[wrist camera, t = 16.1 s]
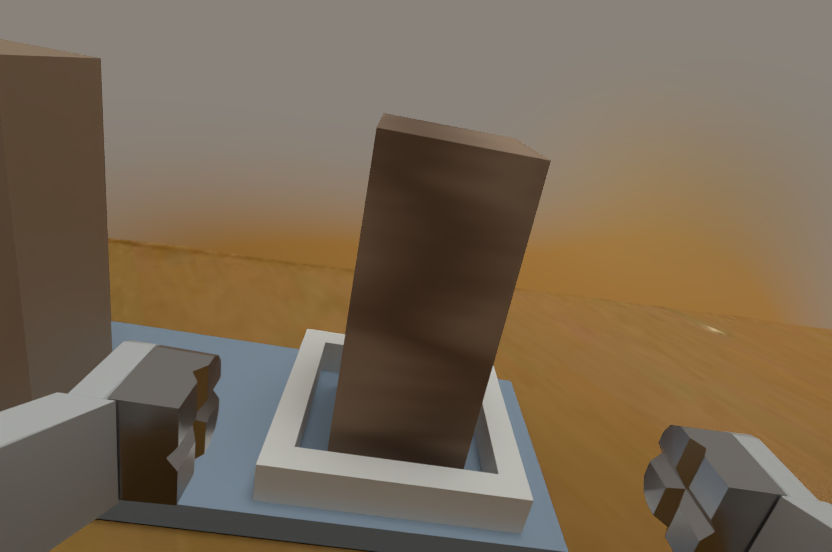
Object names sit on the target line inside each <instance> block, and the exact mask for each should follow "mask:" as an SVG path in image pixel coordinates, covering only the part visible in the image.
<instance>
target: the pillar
mask: <svg viewBox="0 0 832 552" xmlns="http://www.w3.org/2000/svg"><path fill="white" fill-rule="evenodd" d="M549 165H550V160H549V159H547V158H546V157H544V156H543V155H541V154H539V153H538V152H536V151H534V150H533V149H531V148H530V147H528V146H526V145H525V144H523V143H522V142H520V141H518V140H517V139H514V138H510V137H504V136H499V135H494V134H489V133H484V132H479V131H473V130H468V129H463V128H458V127H452V126H448V125H442V124H437V123H432V122H427V121H422V120H416V119H411V118H406V117H401V116H395V115H391V114H385V113H384V114H383V116H382V118H381V120H380V122H379V124H378V126H377V129H376V136H375V142H374V149H373V155H372V162H371V168H370V175H369V182H368V188H367V195H366V201H365V208H364V214H363V221H362V227H361V234H360V241H359V247H358V254H357V260H356V267H355V273H354V280H353V286H352V293H351V299H350V306H349V313H348V319H347V326H346V332H345V339H344V345H343V352H342V358H341V365H340V372H339V378H338V385H337V391H336V398H335V404H334V411H333V417H332V424H331V430H330V437H329V444H328V450H327V451H330V452H337V453H344V454H352V455H359V456H367V457H374V458H382V459H389V460H397V461H404V462H411V463H419V464H426V465H434V466H441V467H449V468H456V469H464V466H465V463H466V459H467V456H468V452H469V449H470V445H471V442H472V438H473V434H474V431H475V427H476V424H477V420H478V417H479V413H480V410H481V406H482V403H483V399H484V395H485V392H486V388H487V385H488V381H489V378H490V374H491V371H492V367H493V364H494V360H495V356H496V353H497V349H498V346H499V342H500V339H501V335H502V332H503V328H504V324H505V321H506V317H507V314H508V310H509V307H510V303H511V300H512V296H513V293H514V289H515V285H516V281H517V278H518V275H519V271H520V268H521V264H522V261H523V257H524V254H525V249H526V246H527V243H528V239H529V236H530V232H531V229H532V225H533V222H534V218H535V214H536V211H537V207H538V204H539V200H540V197H541V193H542V190H543V186H544V183H545V179H546V175H547V172H548V168H549Z"/></svg>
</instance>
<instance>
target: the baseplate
mask: <svg viewBox="0 0 832 552" xmlns="http://www.w3.org/2000/svg"><path fill="white" fill-rule="evenodd" d="M105 182H106V181H105V156H104V133H103V107H102V81H101V59H100V58H96V57H90V56H86V55H80V54H76V53H70V52H65V51H60V50H55V49H49V48H44V47H39V46H34V45H28V44H23V43H18V42H13V41H8V40H3V39H0V412H1V411H4V410H7V409H10V408H13V407H16V406H18V405H21V404H24V403H27V402H30V401H33V400H36V399H39V398H42V397H45V396H48V395H51V394H54V393H57V392H59V393H66V394H68V393H69V392H70V391H71V390H72V389H73V388H74V387H75V386H76V385H77V384H78V383H79V382H80V381H81V380H83V379H84V378H85V377H86V376H87V375H88V374H89V373H90V372H91V371H92V370H93V369H94V368H95V367H96V366H97V365H98V364H100V363H101V362H102V361H103V360H104V359H105V358H106V357H107V356H108V355H109V354H110V353H111V352H112V351H113V350H114V349H116V348H117V347H118V346H119V345H120V344H121V343H122V342H124V341H129V340H132V341H139V342H146V343H153V344H157V345H164V346H170V347H175V348H181V349H187V350H193V351H198V352H204V353H210V354H216V355H219V357H220V359H221V378H220V379H219V381H218V383H217V384H216V386H215V388H214V389H213V390H214V392H215V393H216V395H217V396H218V398H219V412H218V417H217V423H216V427H215V430H214V433H213V436H212V439H211V442H210V444H209V446H208V448H207V450H206V452H205V454H203V455H201V456H200V457H198V458H196V459H195V462H194V474H193V476H192V478H191V480H190V482H189V484H188V486H187V487H186V489H185V491H184V493H183V495H182V497H181V499H180V500H179V502H178V504H177V506H175V505H165V504H155V503H145V502H134V501H124V500H119V502H118V504H117V505H115V506H114V507H112V508H111V509H109V510H108V511H106V512H105V513H103V514H102V515H101V516H99V517H98V518H97V519H105V520H114V521H122V522H131V523H139V524H148V525H156V526H165V527H173V528H181V529H190V530H198V531H207V532H215V533H224V534H232V535H241V536H249V537H257V538H266V539H274V540H283V541H291V542H300V543H308V544H317V545H325V546H334V547H342V548H350V549H359V550H367V551H376V552H568V549H567V546H566V543H565V540H564V537H563V534H562V532H561V529H560V526H559V523H558V520H557V517H556V514H555V511H554V508H553V505H552V502H551V499H550V496H549V493H548V490H547V487H546V484H545V481H544V478H543V475H542V472H541V469H540V466H539V463H538V460H537V457H536V454H535V451H534V448H533V446H532V443H531V440H530V437H529V434H528V431H527V428H526V425H525V422H524V419H523V416H522V413H521V410H520V407H519V404H518V401H517V398H516V395H515V392H514V389H513V386H512V383H511V381H506V380H499V379H497V376H496V372H495V369H494V366H493V367H492V371H491V374H490V378H489V381H488V385H487V388H486V392H485V395H484V399H483V403H482V406H481V410H480V413H479V417H478V420H477V424H476V427H475V431H474V434H473V438H472V442H471V445H470V449H469V452H468V456H467V459H466V463H465V466H464V469H456V468H449V467H441V466H434V465H426V464H419V463H411V462H404V461H397V460H389V459H382V458H374V457H367V456H359V455H352V454H344V453H337V452H330V451H327V450H328V444H329V437H330V430H331V424H332V417H333V411H334V404H335V398H336V391H337V385H338V378H339V372H340V365H341V358H342V352H343V345H344V339H345V334H339V333H332V332H326V331H319V330H313V329H307V331H306V334H305V337H304V339H303V342H302V344H301V347H300V349H294V348H287V347H280V346H274V345H267V344H261V343H254V342H247V341H241V340H234V339H227V338H221V337H214V336H208V335H201V334H194V333H188V332H181V331H174V330H168V329H161V328H154V327H148V326H141V325H135V324H128V323H121V322H115V321H111V306H110V281H109V256H108V233H107V232H108V231H107V209H106V208H107V207H106V183H105Z"/></svg>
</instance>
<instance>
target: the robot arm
mask: <svg viewBox="0 0 832 552" xmlns="http://www.w3.org/2000/svg"><path fill="white" fill-rule="evenodd" d="M220 378H221V359H220V357H219V355H216V354H210V353H204V352H198V351H193V350H187V349H181V348H175V347H170V346H164V345H157V344H153V343H146V342H139V341H132V340H129V341H124V342H122V343H121V344H120V345H119V346H118V347H117V348H116V349H114V350H113V351H112V352H111V353H110V354H109V355H108V356H107V357H106V358H105V359H104V360H103V361H102V362H101V363H100V364H98V365H97V366H96V367H95V368H94V369H93V370H92V371H91V372H90V373H89V374H88V375H87V376H86V377H85V378H84V379H83V380H81V381H80V382H79V383H78V384H77V385H76V386H75V387H74V388H73V389H72V390H71V391H70V392H69V393H68V394H66V393H59V392H57V393H54V394H51V395H48V396H45V397H42V398H39V399H36V400H33V401H30V402H27V403H24V404H21V405H18V406H16V407H13V408H10V409H7V410H4V411H1V412H0V552H48V551H50V550H51V549H53V548H54V547H56V546H57V545H58V544H60V543H61V542H63V541H64V540H66V539H67V538H69V537H70V536H72V535H73V534H74V533H76V532H77V531H79V530H80V529H82V528H83V527H85V526H86V525H88V524H89V523H90V522H92V521H93V520H95V519H96V518H98V517H99V516H101V515H102V514H103V513H105V512H106V511H108V510H109V509H111V508H112V507H114V506H115V505H117V504H118V502H119V500H124V501H134V502H145V503H155V504H165V505H175V506H177V504H178V502H179V500H180V499H181V497H182V495H183V493H184V491H185V489H186V487H187V486H188V484H189V482H190V480H191V478H192V476H193V474H194V462H195V459H196V458H198V457H200V456H201V455H203V454H205V452H206V450H207V448H208V446H209V444H210V442H211V439H212V436H213V433H214V430H215V427H216V423H217V417H218V412H219V398H218V396H217V395H216V393H215V392H214V390H213V389H214V388H215V386H216V384H217V383H218V381H219V379H220ZM659 445H660V448H661V451H662V454H660V455H659V456H657V457H656V458H654V459H653V460H651V461H650V463H649V465H648V468H647V470H646V473H645V475H644V494H645V498H646V502H647V504H648V506H649V508H650V510H651V512H652V514H653V515H654V516H655V517H656V518H657V519H659V520H660V521H661V522H662V523H663V524H665V525H666V526H667V529H666V534H665V537H666V539H667V541H668V543H669V544H670V546H671V548H672V550H673V551H674V552H832V505H831V504H829V503H828V502H822V501H818V500H817V499H816V497H815V496H814V495H813V494H812V493H811V492H810V491H809V490H808V489H807V488H806V487H805V486H804V485H803V484H802V483H801V482H800V481H799V480H798V479H797V478H796V477H795V476H794V475H793V474H792V473H791V472H790V471H789V470H788V469H787V468H786V467H785V465H784V464H783V463H782V462H781V461H780V460H779V459H778V458H777V457H776V456H775V455H774V454H773V453H772V452H771V451H770V450H769V449H768V448H767V447H766V446H765V445H764V444H763V443H762V442H761V441H760V440H759V439H758V438H756V437H754V436H751V435H749V434H741V433H732V432H724V431H723V432H721V431H713V430H705V429H698V428H690V427H683V426H675V425H670V426H669V427H668V428H667V429H666V430H665V431H664V432H663V434H662V436H661V439H660V441H659Z"/></svg>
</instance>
